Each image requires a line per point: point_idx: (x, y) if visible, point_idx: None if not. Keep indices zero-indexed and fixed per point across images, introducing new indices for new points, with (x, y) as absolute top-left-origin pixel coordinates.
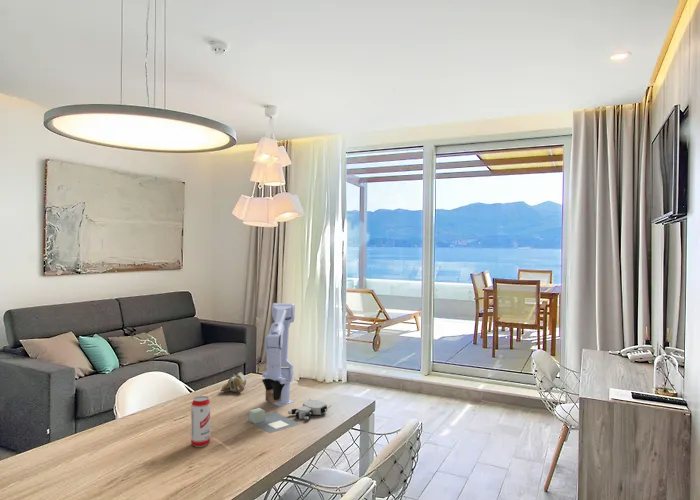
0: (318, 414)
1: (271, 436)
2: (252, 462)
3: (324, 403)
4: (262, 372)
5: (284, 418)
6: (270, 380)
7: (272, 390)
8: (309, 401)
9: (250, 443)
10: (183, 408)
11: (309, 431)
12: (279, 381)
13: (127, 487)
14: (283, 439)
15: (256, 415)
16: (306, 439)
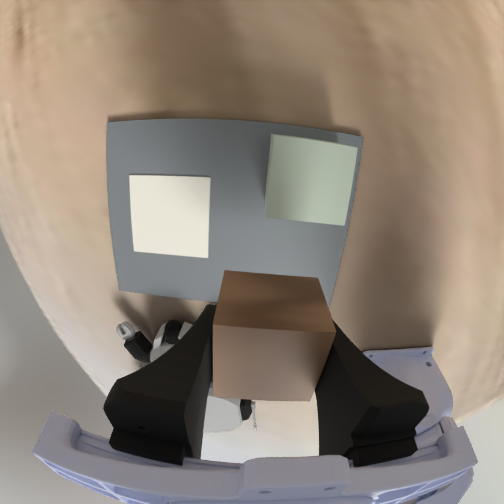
0: None
1: (87, 118)
2: (11, 5)
3: None
4: (472, 461)
5: (220, 287)
6: (339, 445)
7: (282, 369)
8: (228, 418)
9: (95, 18)
10: None
11: (58, 267)
12: (116, 451)
13: None
14: (43, 147)
15: (272, 145)
16: (15, 215)
